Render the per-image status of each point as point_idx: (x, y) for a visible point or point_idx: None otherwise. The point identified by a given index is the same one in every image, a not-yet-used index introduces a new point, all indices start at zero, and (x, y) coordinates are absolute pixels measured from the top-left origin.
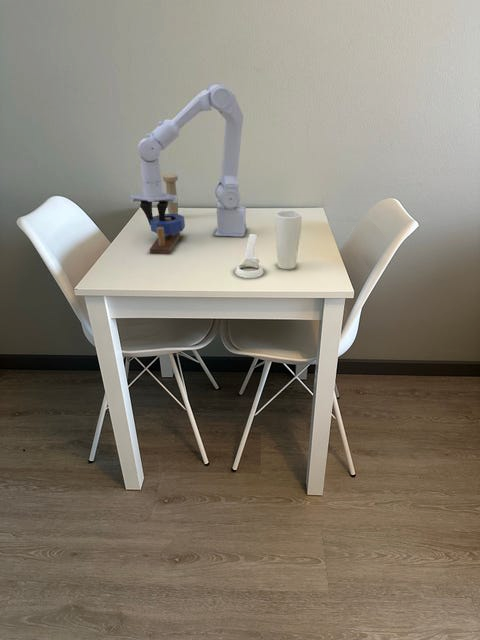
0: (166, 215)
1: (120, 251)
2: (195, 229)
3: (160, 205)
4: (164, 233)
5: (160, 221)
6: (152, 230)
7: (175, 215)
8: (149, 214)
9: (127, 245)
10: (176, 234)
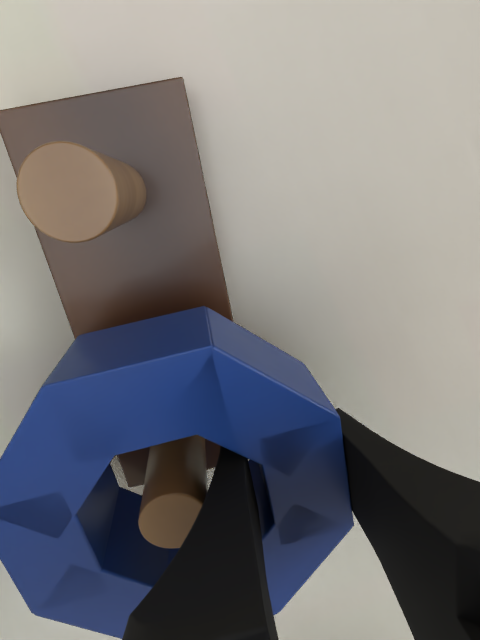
0: None
1: (437, 66)
2: None
3: (186, 636)
4: (141, 323)
5: (200, 416)
6: (286, 355)
7: None
8: (375, 480)
9: (427, 206)
10: None
